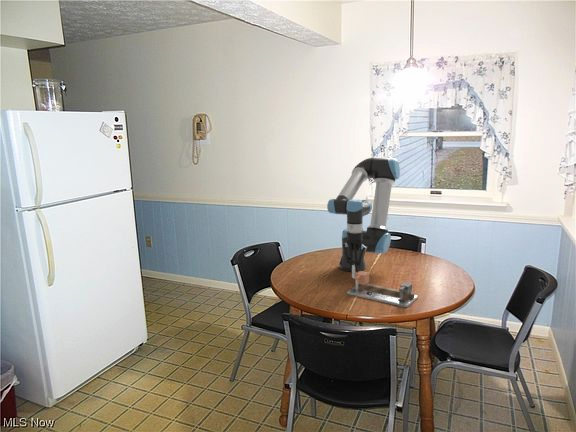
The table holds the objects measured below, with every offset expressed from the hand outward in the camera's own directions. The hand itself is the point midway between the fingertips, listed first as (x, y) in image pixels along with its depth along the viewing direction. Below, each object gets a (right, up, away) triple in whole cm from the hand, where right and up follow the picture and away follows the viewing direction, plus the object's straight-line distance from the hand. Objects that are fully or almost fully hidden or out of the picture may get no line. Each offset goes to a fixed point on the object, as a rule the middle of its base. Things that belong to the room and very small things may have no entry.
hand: (354, 277), depth 212 cm
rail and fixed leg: (+12, -6, -10) cm, 16 cm away
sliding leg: (+2, -5, -3) cm, 6 cm away
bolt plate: (+11, -7, -10) cm, 17 cm away
